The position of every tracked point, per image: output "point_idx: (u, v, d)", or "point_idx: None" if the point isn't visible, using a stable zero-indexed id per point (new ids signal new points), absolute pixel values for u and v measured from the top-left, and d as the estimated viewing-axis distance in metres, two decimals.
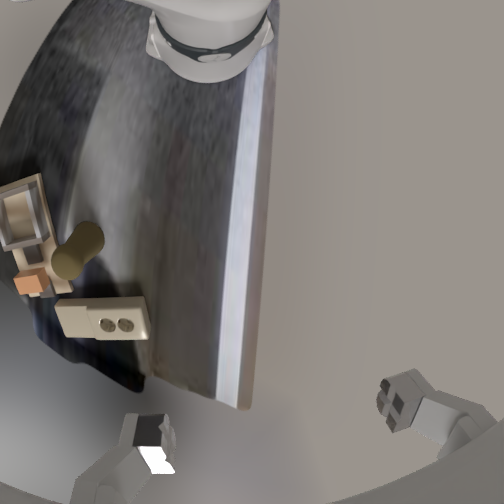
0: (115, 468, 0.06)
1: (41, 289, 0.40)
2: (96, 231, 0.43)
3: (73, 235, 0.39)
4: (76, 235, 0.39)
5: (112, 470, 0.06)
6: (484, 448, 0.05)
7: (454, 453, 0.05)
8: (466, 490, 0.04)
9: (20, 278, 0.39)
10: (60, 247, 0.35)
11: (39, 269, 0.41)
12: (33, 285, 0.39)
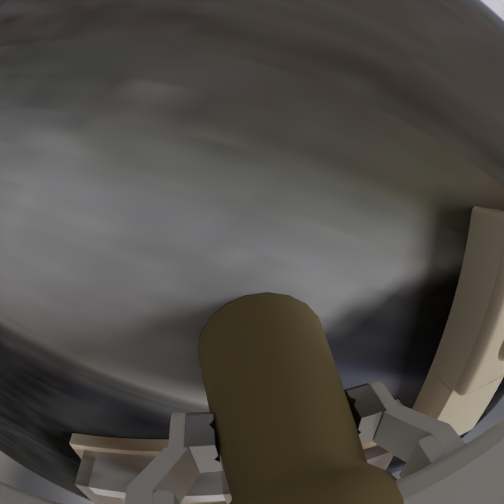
0: (169, 471, 0.06)
1: None
2: (230, 324, 0.11)
3: None
4: (215, 427, 0.09)
5: (167, 474, 0.06)
6: (484, 448, 0.05)
7: (454, 453, 0.05)
8: (466, 490, 0.04)
9: None
10: None
11: None
12: None
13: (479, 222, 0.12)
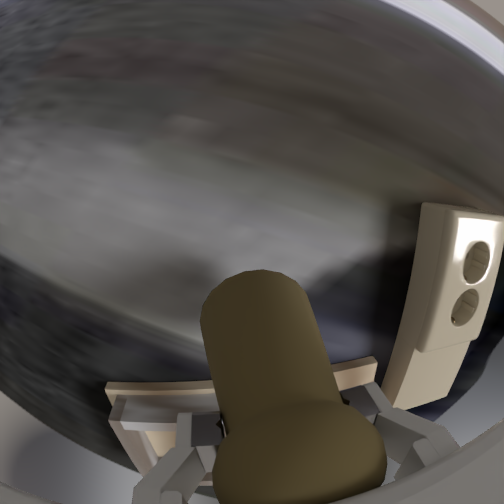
0: (176, 471, 0.06)
1: None
2: (229, 294, 0.13)
3: None
4: (214, 379, 0.11)
5: (174, 474, 0.06)
6: (484, 448, 0.05)
7: (454, 453, 0.05)
8: (466, 490, 0.04)
9: None
10: (217, 498, 0.06)
11: None
12: None
13: (426, 213, 0.18)
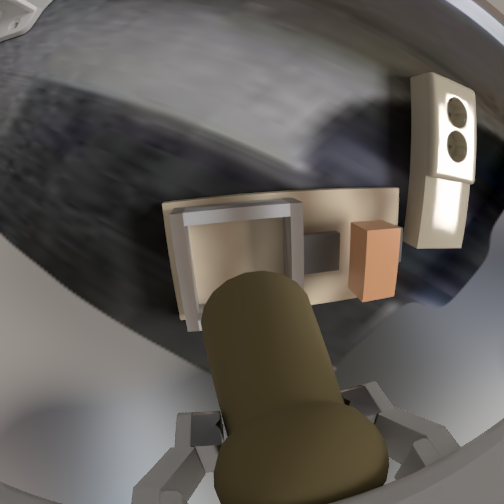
0: (176, 471, 0.06)
1: (396, 230, 0.22)
2: (230, 295, 0.13)
3: None
4: (215, 381, 0.11)
5: (173, 474, 0.06)
6: (484, 448, 0.05)
7: (454, 453, 0.05)
8: (466, 490, 0.04)
9: (366, 281, 0.22)
10: None
11: (354, 232, 0.23)
12: (385, 249, 0.22)
13: (414, 81, 0.23)
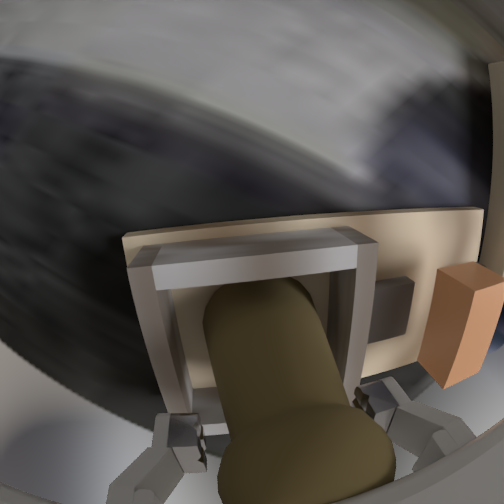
0: (151, 471, 0.06)
1: (503, 285, 0.11)
2: (233, 295, 0.13)
3: (218, 393, 0.11)
4: (218, 383, 0.10)
5: (149, 473, 0.06)
6: (484, 448, 0.05)
7: (454, 453, 0.05)
8: (466, 490, 0.04)
9: (455, 362, 0.12)
10: None
11: (445, 286, 0.13)
12: (487, 315, 0.11)
13: (495, 69, 0.13)
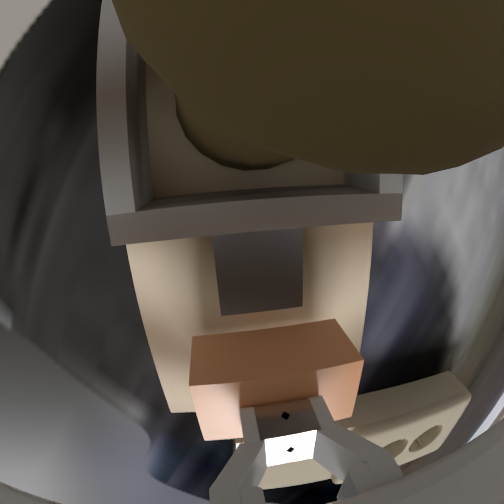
0: (251, 467, 0.07)
1: (348, 411, 0.10)
2: None
3: None
4: None
5: (249, 470, 0.06)
6: (484, 448, 0.05)
7: (454, 453, 0.05)
8: (466, 490, 0.04)
9: (246, 385, 0.09)
10: None
11: (327, 331, 0.11)
12: None
13: (449, 376, 0.18)
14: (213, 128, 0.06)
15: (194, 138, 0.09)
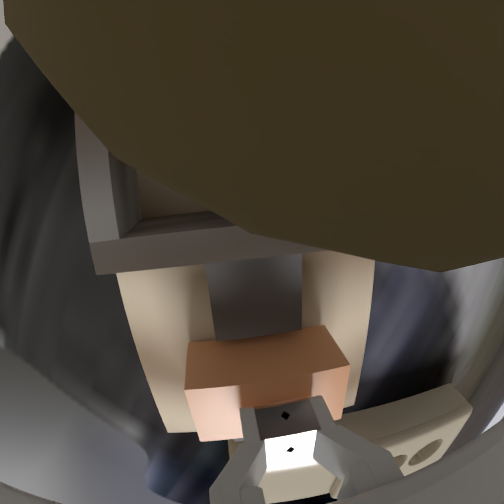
0: (251, 467, 0.07)
1: (337, 413, 0.11)
2: None
3: None
4: None
5: (249, 470, 0.06)
6: (484, 448, 0.05)
7: (454, 453, 0.05)
8: (466, 490, 0.04)
9: (238, 388, 0.10)
10: None
11: (316, 337, 0.12)
12: None
13: (450, 389, 0.17)
14: None
15: None
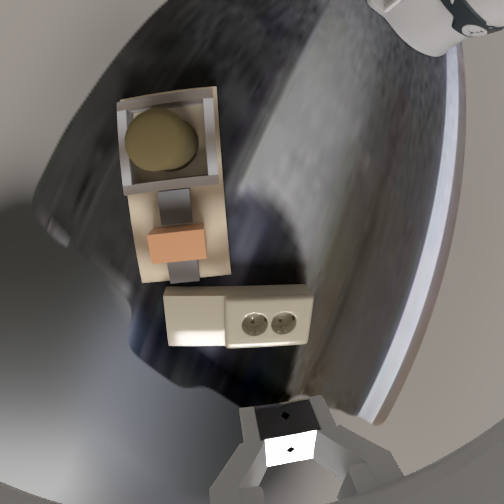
0: (251, 466, 0.07)
1: (204, 254, 0.31)
2: (192, 129, 0.29)
3: None
4: None
5: (249, 470, 0.06)
6: (484, 448, 0.05)
7: (454, 453, 0.05)
8: (466, 490, 0.04)
9: (164, 235, 0.30)
10: (153, 108, 0.20)
11: (198, 225, 0.32)
12: (189, 247, 0.31)
13: (302, 286, 0.38)
14: None
15: None
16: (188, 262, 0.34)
